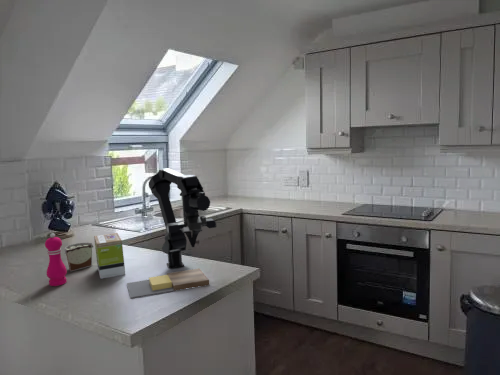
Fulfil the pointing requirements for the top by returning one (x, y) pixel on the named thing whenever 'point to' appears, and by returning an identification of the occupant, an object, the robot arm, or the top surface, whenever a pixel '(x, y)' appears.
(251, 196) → the top surface
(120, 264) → the tea box
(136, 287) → the mat
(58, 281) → the pepper mill
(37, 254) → the top surface
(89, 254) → the food container
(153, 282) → the butter block
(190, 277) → the cutting block
